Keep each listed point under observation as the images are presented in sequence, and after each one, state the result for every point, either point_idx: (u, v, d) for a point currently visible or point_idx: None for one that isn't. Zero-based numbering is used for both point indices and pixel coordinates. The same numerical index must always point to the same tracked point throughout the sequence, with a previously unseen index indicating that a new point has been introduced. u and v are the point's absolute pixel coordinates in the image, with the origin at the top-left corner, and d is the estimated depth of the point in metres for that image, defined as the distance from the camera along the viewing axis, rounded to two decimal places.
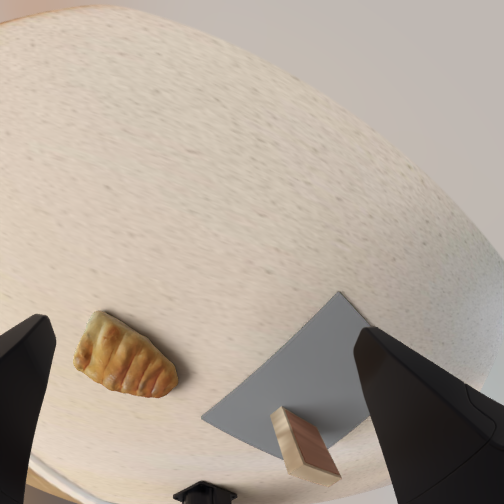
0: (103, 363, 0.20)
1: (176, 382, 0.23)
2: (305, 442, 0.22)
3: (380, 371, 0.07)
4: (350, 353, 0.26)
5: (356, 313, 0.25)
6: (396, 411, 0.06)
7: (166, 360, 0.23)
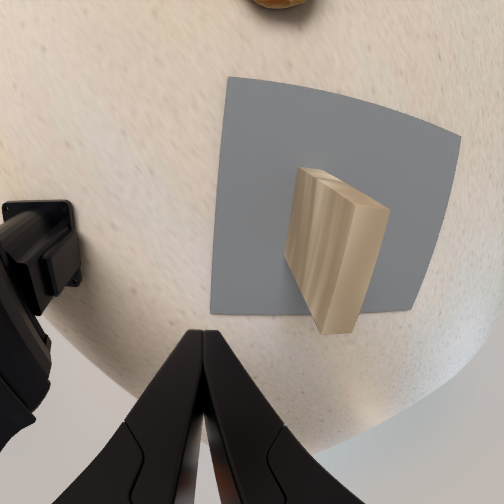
0: None
1: None
2: None
3: (203, 383, 0.06)
4: (420, 200, 0.19)
5: (454, 169, 0.18)
6: (210, 435, 0.05)
7: None
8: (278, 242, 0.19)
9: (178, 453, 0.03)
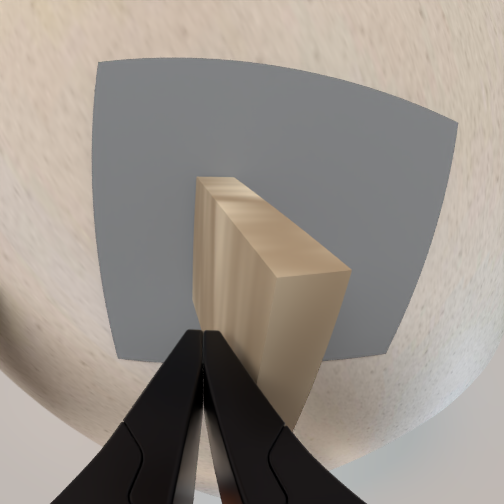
0: None
1: None
2: None
3: (204, 383, 0.06)
4: (397, 214, 0.14)
5: (448, 170, 0.13)
6: (211, 434, 0.05)
7: None
8: (182, 279, 0.14)
9: (177, 453, 0.03)
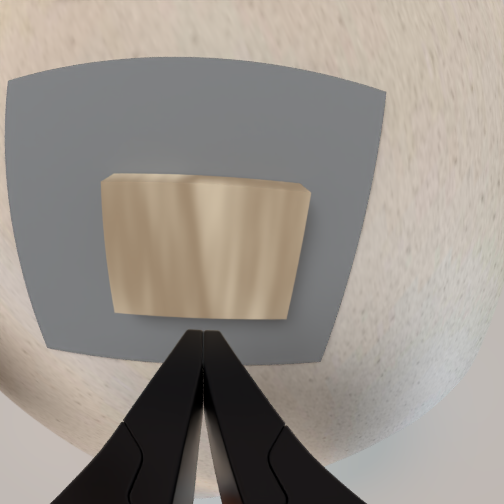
0: None
1: None
2: None
3: (204, 383, 0.06)
4: None
5: (374, 148, 0.12)
6: (211, 435, 0.05)
7: None
8: (82, 273, 0.13)
9: (177, 453, 0.03)
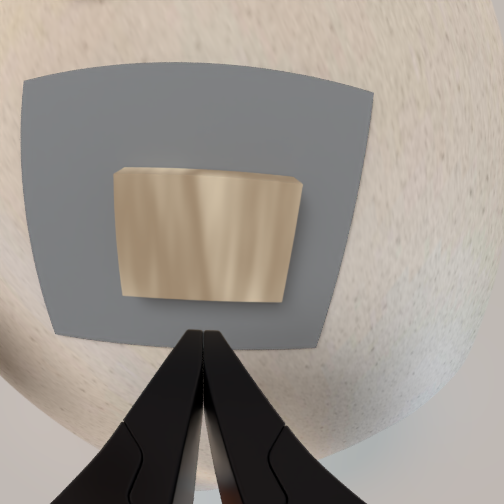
0: None
1: None
2: None
3: (204, 383, 0.06)
4: None
5: (363, 145, 0.13)
6: (211, 435, 0.05)
7: None
8: (92, 260, 0.14)
9: (177, 453, 0.03)
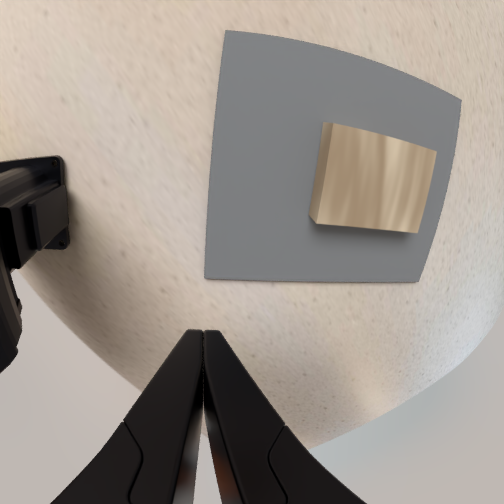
0: None
1: None
2: None
3: (204, 383, 0.06)
4: None
5: (456, 132, 0.17)
6: (211, 435, 0.05)
7: None
8: (277, 197, 0.18)
9: (177, 453, 0.03)
